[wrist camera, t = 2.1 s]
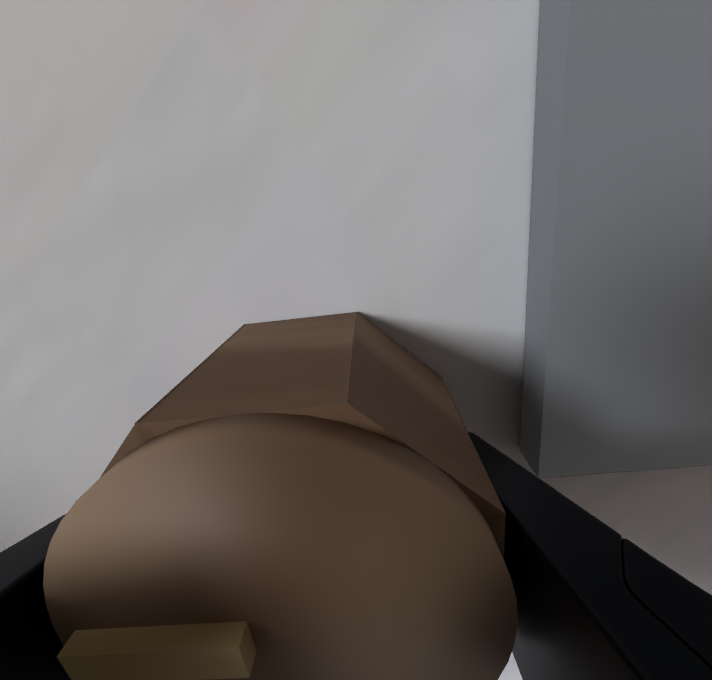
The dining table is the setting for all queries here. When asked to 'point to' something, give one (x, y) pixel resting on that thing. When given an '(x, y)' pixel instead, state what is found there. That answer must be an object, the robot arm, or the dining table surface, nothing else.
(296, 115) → the dining table surface
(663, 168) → the base plate
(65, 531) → the knob
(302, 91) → the dining table surface
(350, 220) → the dining table surface
